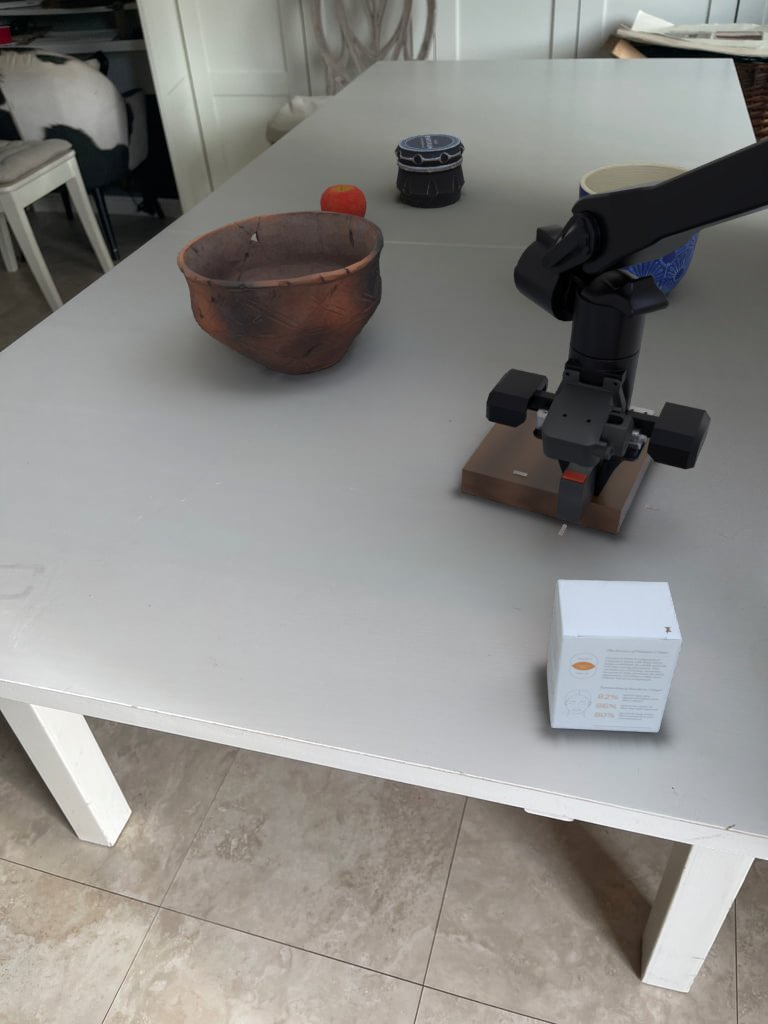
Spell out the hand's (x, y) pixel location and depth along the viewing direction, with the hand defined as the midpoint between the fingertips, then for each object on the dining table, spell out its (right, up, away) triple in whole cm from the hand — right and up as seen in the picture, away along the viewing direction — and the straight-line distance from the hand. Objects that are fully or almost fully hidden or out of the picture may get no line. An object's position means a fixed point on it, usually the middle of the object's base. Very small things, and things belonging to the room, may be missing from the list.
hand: (584, 490), depth 77 cm
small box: (-3, -17, -15) cm, 23 cm away
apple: (-26, +47, +64) cm, 83 cm away
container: (-10, +57, +75) cm, 94 cm away
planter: (+16, +30, +40) cm, 53 cm away
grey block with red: (0, 0, 0) cm, 0 cm away
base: (-1, 0, +4) cm, 4 cm away
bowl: (-31, +19, +30) cm, 47 cm away
